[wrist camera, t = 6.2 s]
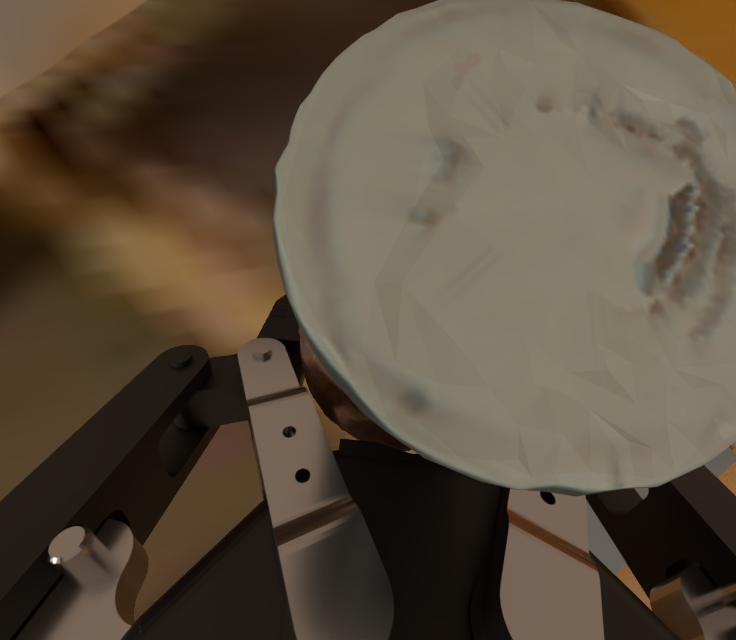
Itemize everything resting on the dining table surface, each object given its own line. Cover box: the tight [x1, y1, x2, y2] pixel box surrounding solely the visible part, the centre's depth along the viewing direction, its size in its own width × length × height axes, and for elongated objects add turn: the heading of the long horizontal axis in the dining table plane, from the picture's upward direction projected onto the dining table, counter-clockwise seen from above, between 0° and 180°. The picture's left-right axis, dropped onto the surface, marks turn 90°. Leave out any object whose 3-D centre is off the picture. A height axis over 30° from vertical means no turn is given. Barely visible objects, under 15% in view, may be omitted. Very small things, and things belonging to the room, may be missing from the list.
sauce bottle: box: [273, 0, 736, 497], centre depth 12 cm, size 7×6×20 cm
